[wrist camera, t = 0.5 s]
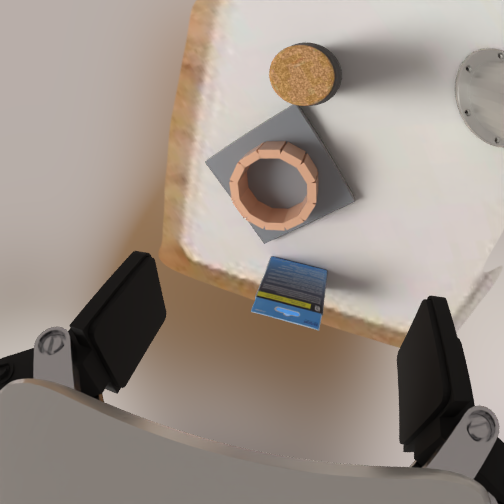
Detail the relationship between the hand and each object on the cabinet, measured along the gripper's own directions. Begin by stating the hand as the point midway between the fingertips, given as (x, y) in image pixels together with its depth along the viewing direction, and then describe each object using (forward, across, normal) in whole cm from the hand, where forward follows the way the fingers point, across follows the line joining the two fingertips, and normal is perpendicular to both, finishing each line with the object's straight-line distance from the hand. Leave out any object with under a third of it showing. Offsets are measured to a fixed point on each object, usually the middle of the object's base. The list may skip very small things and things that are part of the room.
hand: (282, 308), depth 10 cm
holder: (+31, +5, +7) cm, 32 cm away
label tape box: (+31, +2, +22) cm, 38 cm away
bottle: (+31, +1, -7) cm, 32 cm away
